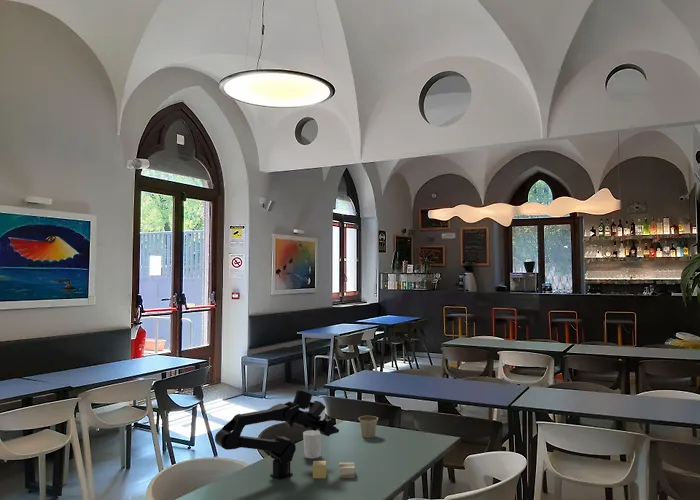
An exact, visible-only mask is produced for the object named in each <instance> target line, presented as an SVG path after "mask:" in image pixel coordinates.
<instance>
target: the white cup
mask: <svg viewBox="0 0 700 500" xmlns="http://www.w3.org/2000/svg"><path fill="white" fill-rule="evenodd" d="M302 437H303V438H302V439H303V451H304V458H306V459H310V460H311V459H313V460H314V459H319V458H320V457H321V454H322V453H321V449H322V434H320V431H319V429H316V431H314V430H311V429H308V430H305V431H303V432H302Z"/></svg>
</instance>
